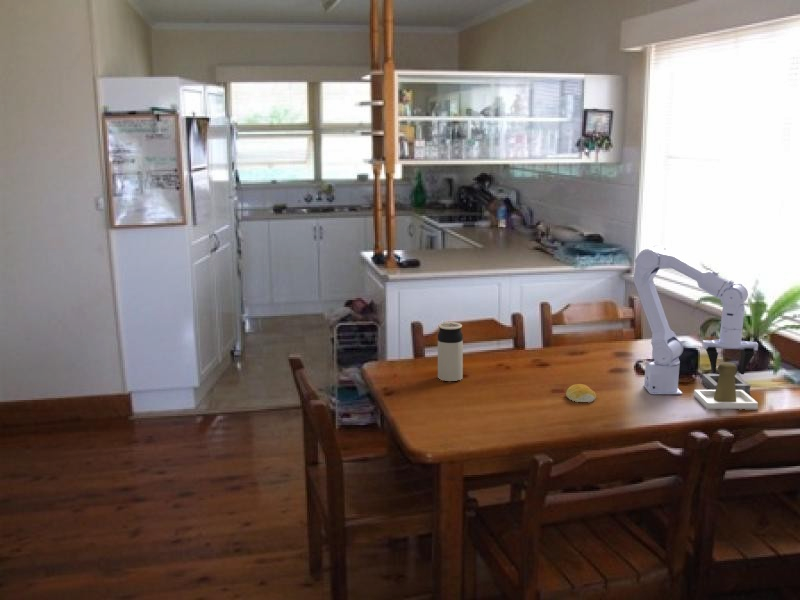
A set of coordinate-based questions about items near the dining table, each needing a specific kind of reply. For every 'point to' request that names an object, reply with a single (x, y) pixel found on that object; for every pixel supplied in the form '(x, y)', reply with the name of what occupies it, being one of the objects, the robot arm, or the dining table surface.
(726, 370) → the cork
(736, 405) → the tray
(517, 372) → the dining table surface
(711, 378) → the holder
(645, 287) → the robot arm
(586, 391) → the bread roll
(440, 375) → the travel mug
